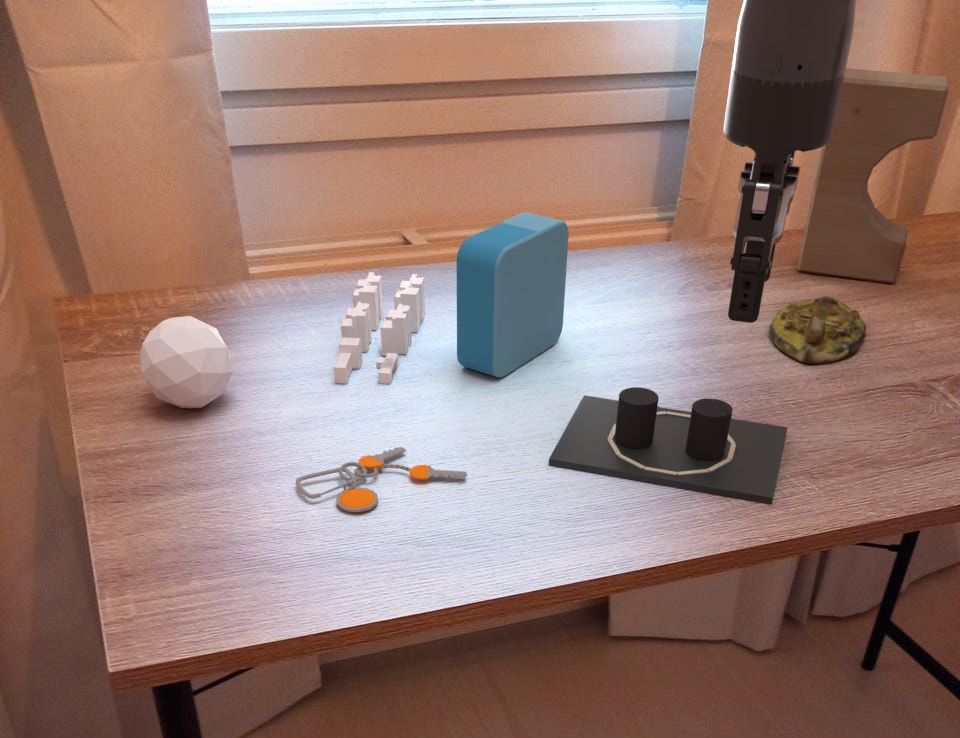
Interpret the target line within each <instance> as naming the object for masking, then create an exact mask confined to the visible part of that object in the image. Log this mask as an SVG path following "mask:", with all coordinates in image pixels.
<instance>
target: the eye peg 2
mask: <svg viewBox="0 0 960 738" xmlns="http://www.w3.org/2000/svg"><path fill="white" fill-rule="evenodd" d="M691 405H692V406H691V410H690V412H691V417H690V423H689V429H688V436H687V442H686V448H685V450H686V453H687V454H688V455H689V456H691V457H692V458H695V459H698V460H702V461H714V460H718V459H720V458H722V457H723V456H724V453H725V448H726V443H727V437H728V432H729V427H730V422H731V418H732V415H733V411H734V410H733V407H732V405H731V404H729V403H728V402H726V401H724V400H722V399H719V398H701V399H698V400H696V401H694V402H693V403H692V404H691Z"/></svg>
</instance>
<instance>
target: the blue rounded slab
mask: <svg viewBox="0 0 960 738" xmlns="http://www.w3.org/2000/svg"><path fill="white" fill-rule="evenodd" d="M569 233H570V232H569V227H568V225H567V223H566V222H565V221H564V220H561V219H557V218H554V217H553V218H552V217H548V216H543V215H540V214H535V213H530V212H526V211H523V212H520V213H518V214H516V215H514V216H512V217H510V218H508V219H505V220H504V221H501V222H499V223H497V224H495V225H493V226H490V227H488V228H486V229H484V230H482V231H480V232H478V233H476V234H473V235H471V236H469V237H467V238H465V239H464V240H463V241H462V243H461V244H460V245H459V248H458V251H457V255H456V358H457V361H458V363H459V365H460V366H462V367H464V368H467V369H470V370H473V371H475V372H476V371H477V372H479V373H483V374H486V375H489V376H491V377H496V378H499V379H501V378H503V377H506V376H507V375H510V373H512V372H513V371H515V370H517V369H518V368H520V367H521V366H523V365H524V364H526V363H527V362H529V361H531V360H532V359H534V358H535V357H537V356H539V355H540V354H541V353H544V352H545V351H547V350H548V349H550V348H552V346H554V345H555V344H556V343H557V342H558V341H559V339H560V337H561V335H562V331H563V326H564V313H565V299H566V298H565V297H566V284H567V283H566V282H567V281H566V280H567V269H568V268H567V266H568V264H567V263H568V252H569V251H568V249H569V238H570V237H569Z"/></svg>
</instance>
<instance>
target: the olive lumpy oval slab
mask: <svg viewBox="0 0 960 738" xmlns="http://www.w3.org/2000/svg"><path fill="white" fill-rule="evenodd" d="M860 315H861V314H860V312H859V310H858V309H851V308H850V307H849V306H847V304H846V303H844V302H843V301H841V300H839V299H837V298H834V297H832V296H829V295H823V296H819V297H816V298H813V299H809V300H802V301H801V300H800V301H796V302H788V303H787V305H785V306H783V307H781V308H778V310H777V312H776V313H775V314H774V315H773V318H772V320H771V322H770V325H769V332H770V336H771V339H772V341H773V343H774V345H775V346H776V347H777V348H778V349H779V350H780V351H781V352H783V353H784V354H785V355H787V356H789V357H791V358H793V359H795V360H796V361H798V362H801V363H805V364H811V365H816V364H818V365H819V364H824V363H825V364H826V363H834V362H839V361H841V360H845V359H847V358H850V357H851V356H853V355H854V354H856V352H858V350H859V349H860V346H861V344H862V343H863V341H864V340H865V339H866V336H867V325H866V323H865V321H864V320H863V318H862V317H861V316H860Z"/></svg>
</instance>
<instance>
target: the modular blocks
mask: <svg viewBox="0 0 960 738" xmlns="http://www.w3.org/2000/svg"><path fill="white" fill-rule="evenodd" d="M375 274H376V273H375V272H374V271H369V272H368V275H367V277H366V278H365V279H364V278H359V280H358V282H357V283H356V288H354V292H352V306H353V307H348V308H347V310H346V312H345V317H344V318H343V319H342V322H341V324H340V332H341V339H340V342H339V343H338V344H339V346H338V347H339V353H338V356H337V358H336V361H335V363H334V365H333V377H334V384H348V382H349V379H350V376H351V374H352V370H353V369H354V370H360V368H361V366H362V363H363V357H362V356H363V355H362V353H368V351H369V345H370V344H371V342H372V339H373V338H372V331H378V328H379V326H380V343H381V344H380V345H381V346H380V347H379V348H378V353H380V350H381V356H383V357H378V359H377V361H376V368H378V369H379V370H378V384H386V385H391V383H392V381H393V374H395V373H396V372H395V371H396V370H397V369H398V367H399V366H400V358H399V356H400V355H407V354H408V351H409V347H410V346H411V344H412V333H419V329H420V327H421V323H422V322H423V320H424V318H425V315H426V305H425V303H426V301H425V277H418V274H417V273H412V274H411V276H410V278H409V280H407V281H406V280H402V281H401V283H400V285H399V287H398V290H396V292H395V295H394V297H393V298H394V299H393V300H394V309H388V311H387V313H386V315H385V319H384V317H383V315H384V299H383V282H382V281H383V279H382V275H375ZM381 319H382V320H383V321H382V323H381V324H380V320H381ZM376 341H377V338H375V341H374V342H373V343H372V345H374V344H376ZM360 393H361V391H358V390H357V391H355V392H354V394H358V395H360Z"/></svg>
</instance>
